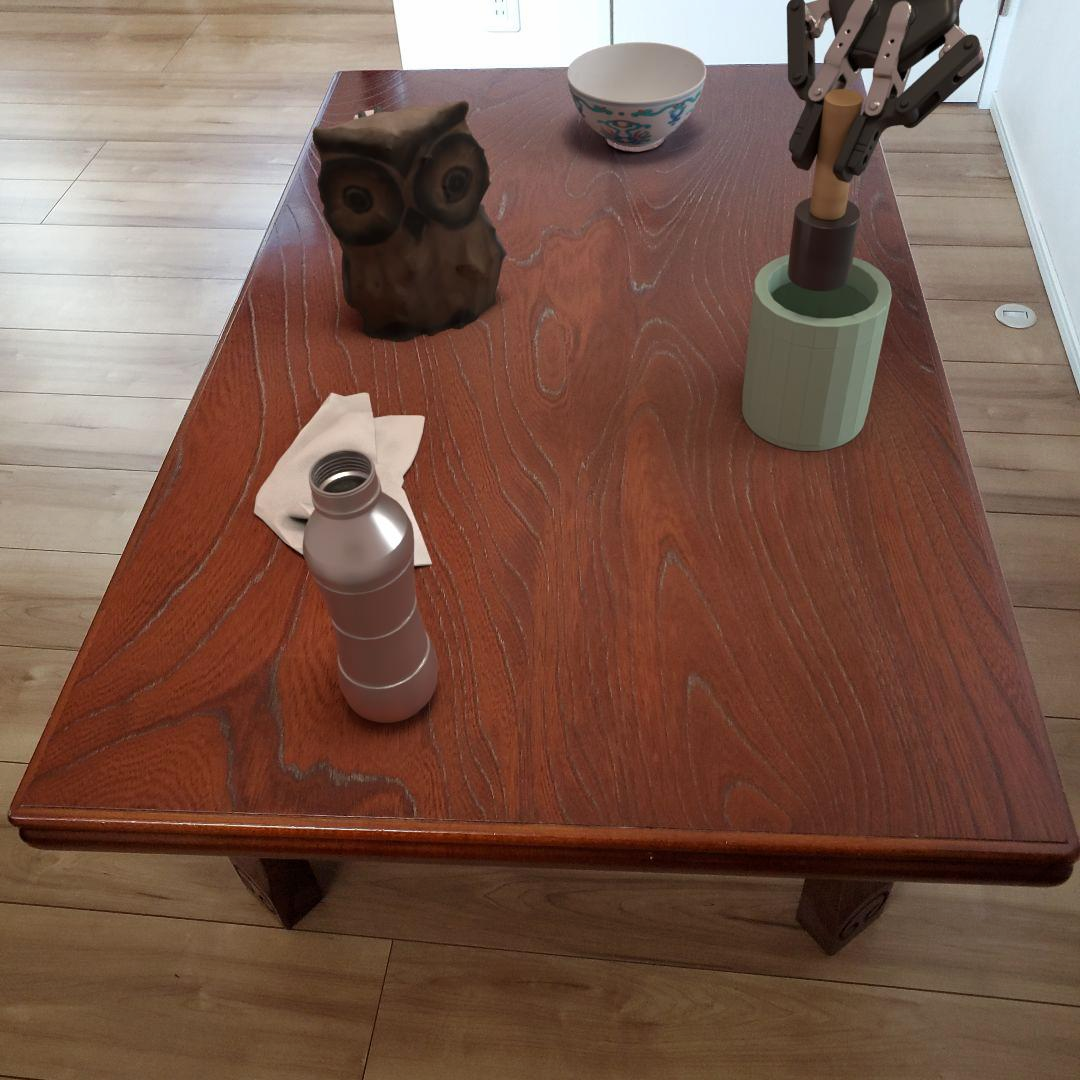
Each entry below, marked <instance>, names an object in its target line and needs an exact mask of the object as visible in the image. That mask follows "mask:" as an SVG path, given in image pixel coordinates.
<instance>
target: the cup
mask: <svg viewBox="0 0 1080 1080" xmlns="http://www.w3.org/2000/svg"><path fill="white" fill-rule="evenodd" d="M789 254H790V253H788V254H785V255H782V256H780V257H776V258H774V259H772V260H771V261H769V262H768V263H766V265H764V266H763V267H762V268H760V269H759V271H758V273H757V274H756V276H755V278H754V279H753V280H754V281H753V290H752V301H751V308H750V318H749V329H748V339H747V340H748V341H747V347H746V348H747V349H746V359H745V366H744V378H743V387H742V396H741V401H742V402H741V413H742V416H743V420H744V421H745V423H746V426H748V427H749V429H750V430H751V431H752V432H753V433H754V434H755V435H757V436H758V437H759V438H760V439H762V440H764V441H766V442H768V443H770V444H772V445H774V446H778V447H780V448H783V449H787V450H793V451H799V452H820V451H821V452H822V451H826V450H832V449H835V448H839V447H840V446H843V445H845V444H847V443H849V442H850V441H852V440H853V439H855V438H856V437H857V435H859V434H860V432H861V431H862V429H863V428H864V425H865V423H866V418H867V415H868V412H869V407H870V404H871V403H870V402H871V398H872V392H873V388H874V384H875V377H876V374H877V368H878V364H879V360H880V359H879V358H880V354H881V350H882V345H883V340H884V335H885V331H886V325H887V322H888V321H887V320H888V315H889V311H890V306H891V301H892V297H893V296H892V295H893V293H892V288H891V283H890V280H889V279H888V278H887V277H886V275H885V274H884V273H883V272H882V271H881V270H880V269H879V268H877V267H875V266H874V265H873V264H871V263H869V262H868V261H866V260H863V259H860V258H858V257H855V256H853V262H852V268H851V274H850V279H849V281H848V282H847V283H846V284H845V285H844V286H842V287H841V288H838V289H836V290H832V291H811V290H807V289H803V288H801V287H799V286H797V285H795V284H794V283H793V282H791V280H790V279H789V277H788V274H787V271H788V262H789Z"/></svg>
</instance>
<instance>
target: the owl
mask: <svg viewBox="0 0 1080 1080" xmlns="http://www.w3.org/2000/svg"><path fill="white" fill-rule="evenodd" d="M469 110H470V103H469V102H468V101H467V100H460V101H453V102H452V101H451V102H444V103H441V104H440V103H439V104H433V105H418V106H410V107H403V108H400V109H397V110H395V111H382V112H379V113H375V114H372V115H369V116H365V117H361V118H357V119H354V118H353V119H354V120H353V119H350V120H349V121H346V122H343V123H339V124H336V125H331V126H329V127H322V126H318V125H316V126H314V128H313V130H312V141H313V144H314V147H315V149H316V151H317V153H318V157H319V159H320V170H319V173H318V175H317V176H318V177H317V182H316V183H317V185H316V187H317V189H318V192H319V200H320V202H321V204H322V205H323V210H322V215H323V217H324V219H325V221H326V222H327V224H328V226H329V228H330V230H331V231H332V234H333V235H334V237H335V238H336V239H337V241H338V243H339V246H340V248H341V251H342V252H341V253H342V255H341V256H342V257H341V281H342V291H343V297H344V300H345V302H346V304H347V305H348V306H349V307H350V308H352V309H354V310H356V311H357V312H358V314H359V316H360V317H361V321H362V322H361V323H362V332H363V334H364V335H365V336H366V337H369V338H377V339H379V340H387V341H393V342H407V341H410V340H412V339H414V338H415V337H418V336H421V335H422V334H426V335H428V336H430V337H431V336H434V335H437V334H438V333H440V332H442V331H445V330H450V329H452V328H453V329H456V330H461V329H463V328H465V327H466V326H467V325H469V324H471V323H473V322H475V321H476V320H478V317H479V316H480V315H481V314H483V312H485V311H486V310H487V309H489V308H490V307H491V306H493V305H495V304H497V298H496V292H497V288H498V285H499V281H500V277H501V271H502V267H503V266H502V265H503V262H504V259H505V258H506V256H507V254H508V253H507V250H506V249H505V247H504V245H503V243H502V241H501V238H500V236H499V235H498V233H497V229H496V228H495V227H494V225H493V222H492V220H491V219H490V218H489V215H488V214H487V213H486V210H485V205H484V204H482V201H483V198H484V197H485V195H486V194H487V191H488V190H489V187H490V186H491V184H492V183H491V180H490V174H491V171H490V165H489V163H488V160H487V159H488V158H487V157H486V154H485V148H483V147H482V146H481V145H480V144H479V142H478V141H477V138H476V137H475V136H474V134H473V132H472V131H471V129H470V128H469V125H468V123H467V115H468V113H469Z"/></svg>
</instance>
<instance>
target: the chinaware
mask: <svg viewBox="0 0 1080 1080" xmlns="http://www.w3.org/2000/svg"><path fill="white" fill-rule="evenodd" d="M706 78H707V67H706V64H705V62H704V61H703V60H702V59H701V58H700V57H699V56H698V55H697V54H695V53H693V52H692V51H689V50H687V49H684V48H683V47H682V48H681V47H679V46H677V45H676V46H675V45H671V44H667V43H660V42H649V41H648V42H647V41H635V42H622V43H621V42H620V43H614V44H608V45H604V46H600V47H597V48H594V49H592V50H588V51H587V52H585V53H582V54H581V55H580V56H578V57H577V58H575V59H574V60H573V61H572V62H571V63H570V64H569V66H568V68H567V70H566V79H567V80H566V81H567V84H568V89H569V92H570V95H571V98H572V101H573V104H574V106H575V107H576V110H577V111H578V113H579V114H580V116H581V117H582V119H583V120H584V122H585V123H586V124H587V125H588V126H589V127H590V128H591V129H592V130H594V131H595V132H596V133H597V134H599V135H600V136H602V137H604V138H605V139H606V138H607V139H608V140H610V141H611V142H613V143H616V144H618V145H622V146H625V147H626V146H628V147H647V146H650V145H653V144H656V143H658V142H660V141H661V140H662V139H663V138H664V137H665V138H666V137H668V136H669V135H671V134H672V133H674V132H675V131H676V130H678V129H679V128H680V127H681V126H682V125H683V124H684V123H685V121H687V119H688V118H689V117H690V115H691V114H692V113H693V112H694V109H695V108H696V106H697V104H698V102H699V99H700V97H701V95H702V92H703V89H704V86H705V82H706Z"/></svg>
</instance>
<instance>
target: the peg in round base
mask: <svg viewBox="0 0 1080 1080" xmlns="http://www.w3.org/2000/svg"><path fill="white" fill-rule="evenodd" d="M863 103H864V96H863V95H862V93H860V92H859V91H857V90H853V89H849V88H847V89H837V90H832V91H830V92H828V93H827V94H826V95H825V97H824V105H823V112H822V120H821V128H820V135H819V143H818V151H817V155H816V157H815V167H814V172H813V173H814V174H813V181H812V190H811V196H810V197H807V198H805V199H803V200H801V201H799V203H797V204H796V206H795V207H794V215H793V222H792V231H791V238H790V246H789V253H788V254H789V262H788V271H787V274H788V277H789V279H790V280H791V282H793V283H794V284H795V285H797V286H799V287H801V288H803V289H807V290H811V291H832V290H836V289H838V288H841V287H842V286H844V285H845V284H846V283H847V282H848V281H849V279H850V274H851V268H852V262H853V257H855V251H856V244H857V239H858V233H859V232H858V231H859V227H860V219H861V210H860V208H859V207H858V205H856V204H855V203H854V202H853V201H851V200H849V193H850V187H851V181H850V182H849V183H847V182H843V181H840V180H838V179H837V178H836V176H835V175H834V173H833V166H834V163H835V161H836V159H837V157H838V154H839V152H840V150H841V148H842V146H843V143H844V141H845V139H846V137H847V135H848V132H849V130H850V128H851V126H852V124H853V121H854V119H855V117H856V115H861V116H862V111H863Z"/></svg>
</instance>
